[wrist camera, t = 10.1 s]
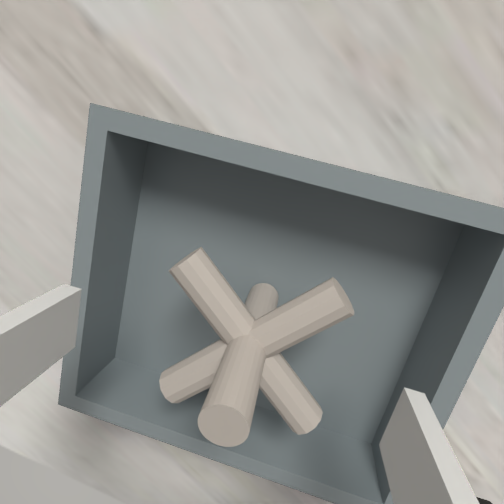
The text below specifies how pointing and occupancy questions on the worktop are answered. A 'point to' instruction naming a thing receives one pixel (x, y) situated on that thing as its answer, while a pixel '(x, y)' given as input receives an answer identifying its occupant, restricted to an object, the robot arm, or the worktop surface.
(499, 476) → the worktop surface
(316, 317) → the pipe connector
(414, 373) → the bin
